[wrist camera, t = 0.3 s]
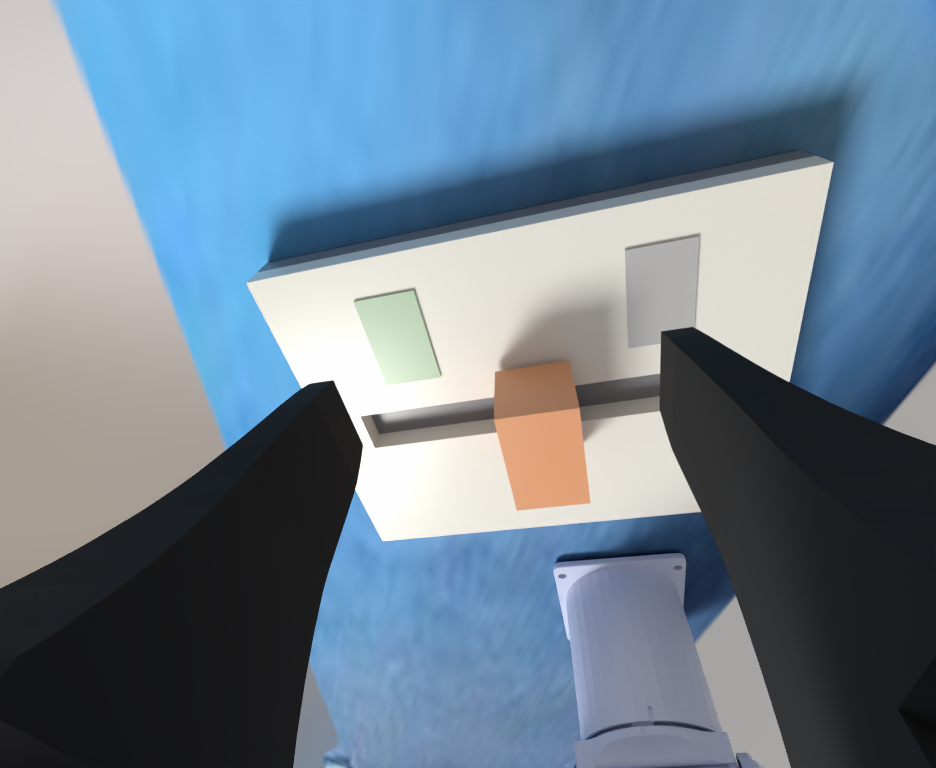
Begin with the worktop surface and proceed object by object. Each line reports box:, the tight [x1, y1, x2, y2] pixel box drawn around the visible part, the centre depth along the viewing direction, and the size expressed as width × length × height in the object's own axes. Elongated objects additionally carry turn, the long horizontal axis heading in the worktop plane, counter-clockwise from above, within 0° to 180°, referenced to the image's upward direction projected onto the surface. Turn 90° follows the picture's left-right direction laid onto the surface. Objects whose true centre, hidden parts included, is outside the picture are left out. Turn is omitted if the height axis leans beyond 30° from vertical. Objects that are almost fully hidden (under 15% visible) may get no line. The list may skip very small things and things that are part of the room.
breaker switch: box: [494, 360, 590, 511], centre depth 20 cm, size 5×3×4 cm, turn 13°
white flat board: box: [246, 150, 834, 541], centre depth 21 cm, size 16×20×2 cm
